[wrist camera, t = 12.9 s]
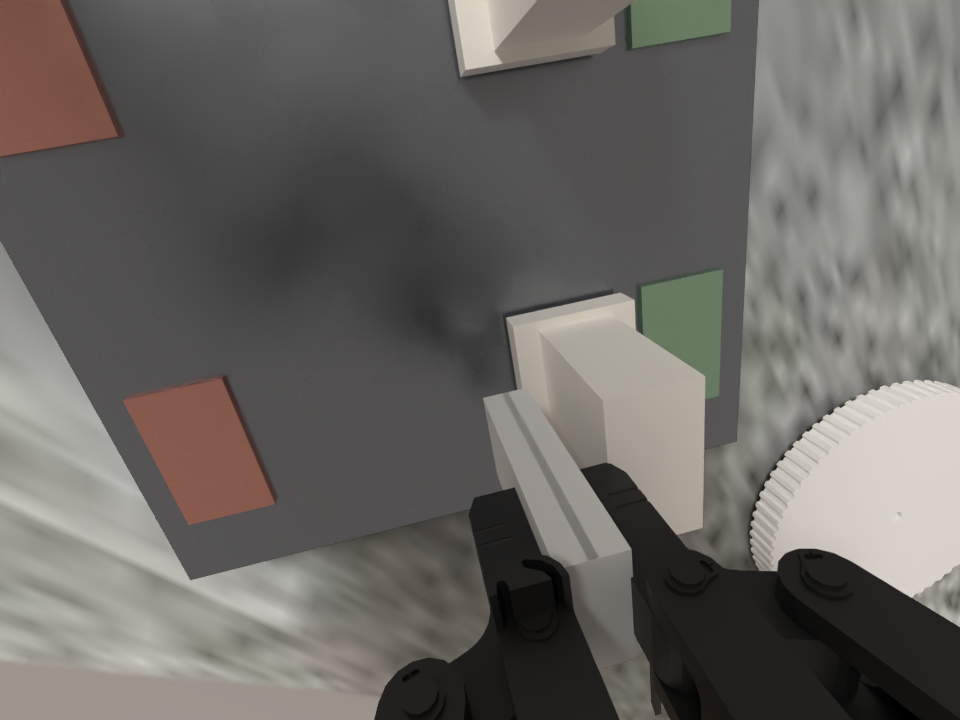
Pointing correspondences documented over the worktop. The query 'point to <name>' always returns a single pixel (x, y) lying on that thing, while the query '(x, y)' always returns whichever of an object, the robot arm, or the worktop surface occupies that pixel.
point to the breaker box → (355, 238)
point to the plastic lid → (872, 487)
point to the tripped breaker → (617, 399)
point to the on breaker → (529, 31)
